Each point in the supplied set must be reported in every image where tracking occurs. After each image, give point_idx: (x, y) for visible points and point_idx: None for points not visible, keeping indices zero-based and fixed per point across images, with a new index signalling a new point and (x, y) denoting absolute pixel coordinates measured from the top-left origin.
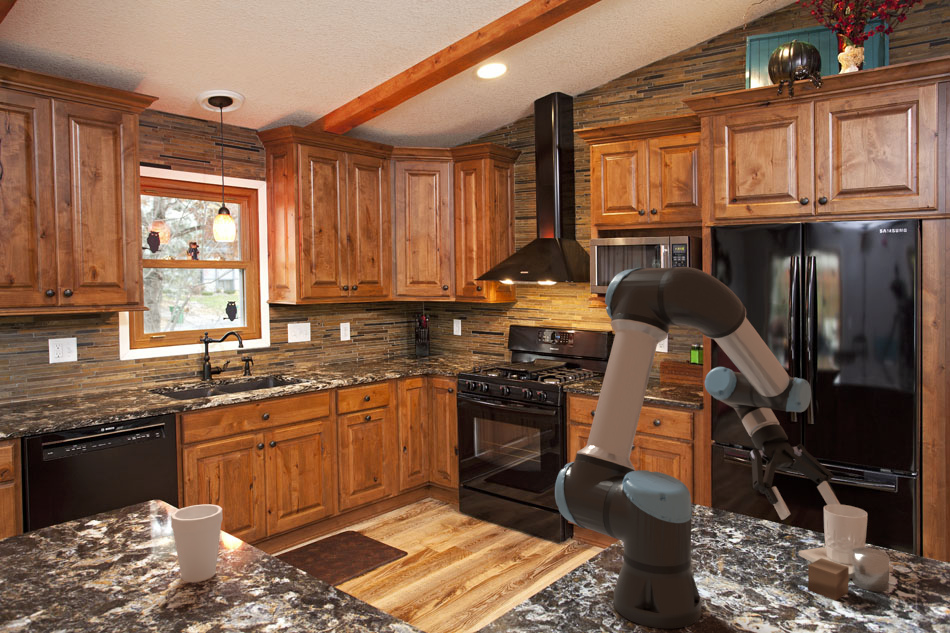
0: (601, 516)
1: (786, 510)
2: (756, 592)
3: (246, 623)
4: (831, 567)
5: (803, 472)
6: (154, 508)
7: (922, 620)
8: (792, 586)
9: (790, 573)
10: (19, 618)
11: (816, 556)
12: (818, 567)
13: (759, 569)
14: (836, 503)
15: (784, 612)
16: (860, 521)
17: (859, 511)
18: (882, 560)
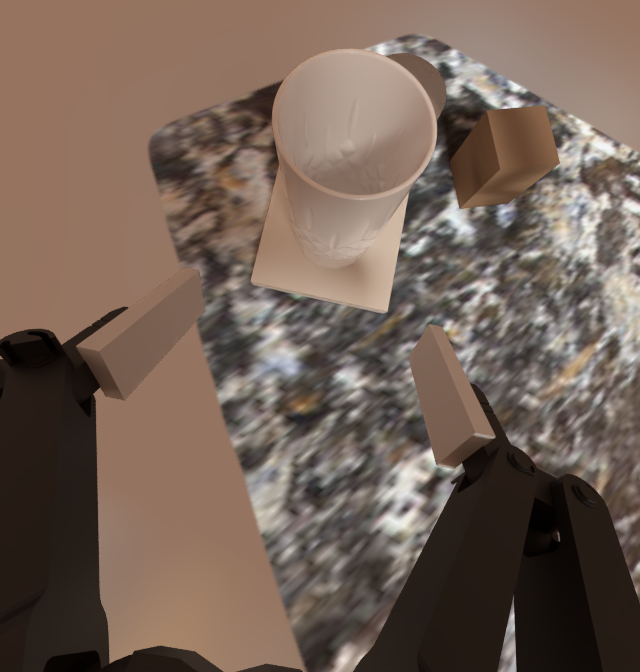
0: None
1: (443, 335)
2: (598, 246)
3: None
4: (524, 128)
5: (91, 510)
6: None
7: (431, 51)
8: (520, 227)
9: (476, 265)
10: None
11: (380, 270)
12: (550, 143)
13: (518, 309)
14: (189, 280)
15: (608, 177)
16: (369, 73)
17: (282, 112)
18: (417, 58)
